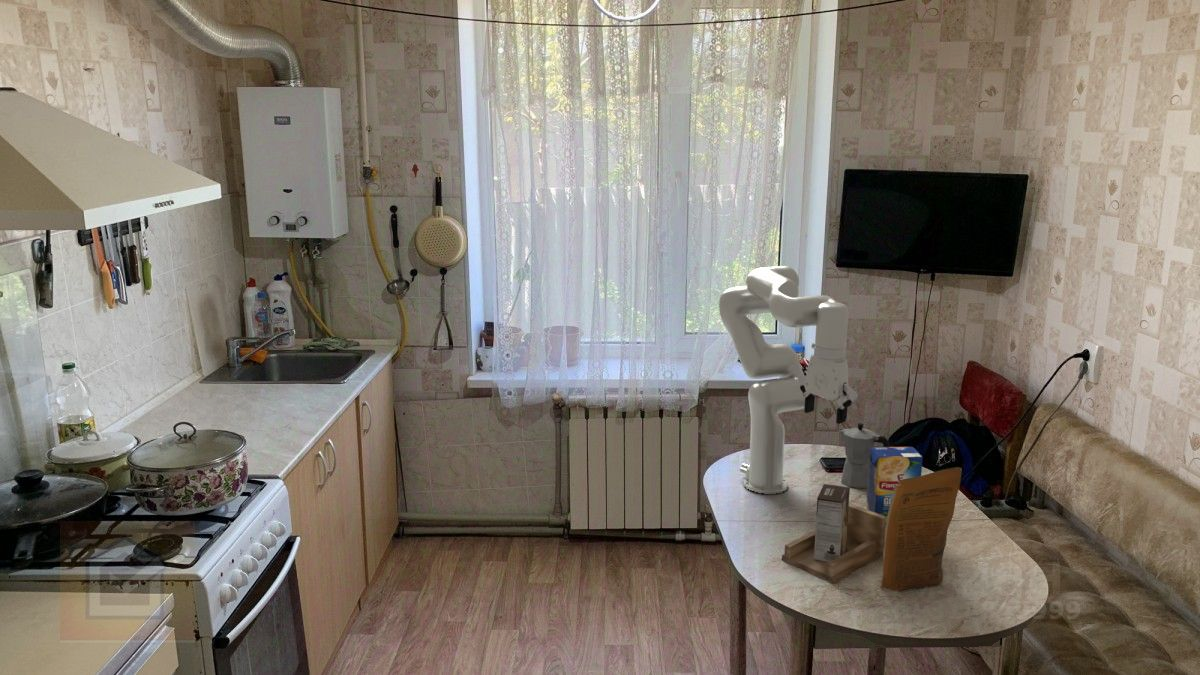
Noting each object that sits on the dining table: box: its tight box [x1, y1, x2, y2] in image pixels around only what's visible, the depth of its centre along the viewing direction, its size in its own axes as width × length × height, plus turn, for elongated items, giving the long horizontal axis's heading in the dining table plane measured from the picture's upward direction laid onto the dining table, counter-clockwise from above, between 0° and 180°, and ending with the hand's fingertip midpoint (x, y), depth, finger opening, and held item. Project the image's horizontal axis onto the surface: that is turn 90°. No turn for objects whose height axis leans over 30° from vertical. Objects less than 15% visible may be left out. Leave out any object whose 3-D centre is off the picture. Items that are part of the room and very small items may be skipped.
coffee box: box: [814, 483, 851, 562], centre depth 214 cm, size 9×6×16 cm
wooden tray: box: [781, 502, 886, 584], centre depth 215 cm, size 15×20×10 cm
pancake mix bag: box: [880, 466, 963, 592], centre depth 200 cm, size 7×19×28 cm, turn 106°
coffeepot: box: [837, 422, 891, 489], centre depth 258 cm, size 15×9×18 cm, turn 51°
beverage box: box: [865, 446, 924, 540], centre depth 226 cm, size 7×11×22 cm, turn 91°
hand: (824, 417), depth 227 cm, fingers open, 9 cm apart
